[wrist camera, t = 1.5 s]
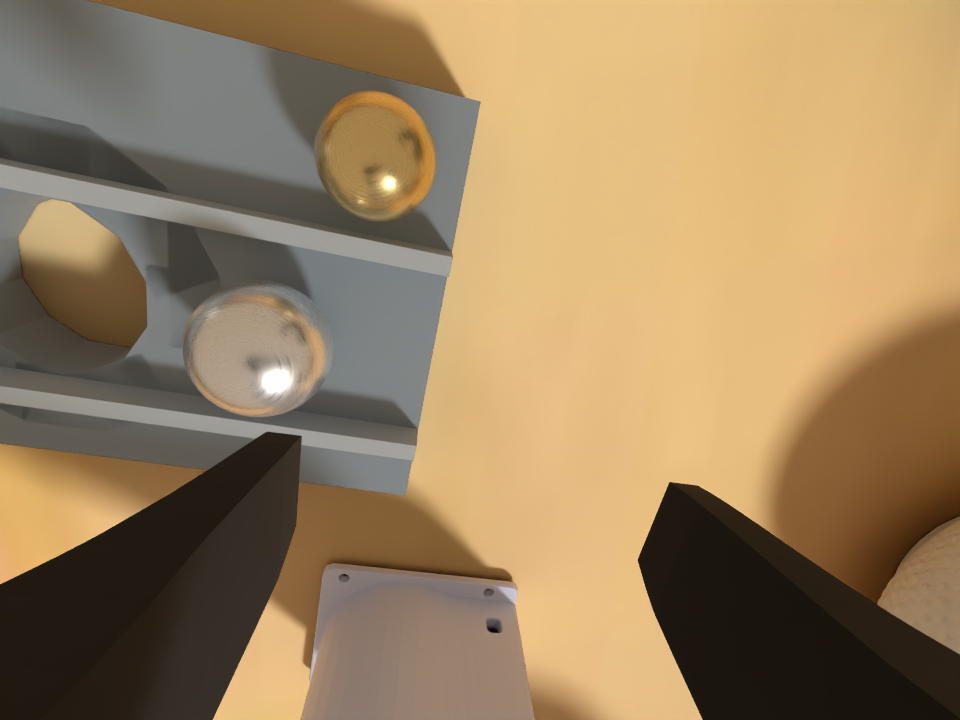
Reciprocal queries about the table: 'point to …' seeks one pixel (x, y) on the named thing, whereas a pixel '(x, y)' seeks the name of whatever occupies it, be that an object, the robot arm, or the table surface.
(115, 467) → the table surface
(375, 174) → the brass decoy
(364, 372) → the grey divided tray
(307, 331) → the steel ball
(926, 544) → the cereal bowl
